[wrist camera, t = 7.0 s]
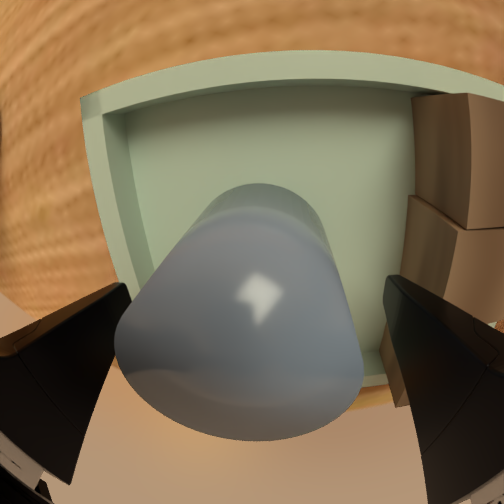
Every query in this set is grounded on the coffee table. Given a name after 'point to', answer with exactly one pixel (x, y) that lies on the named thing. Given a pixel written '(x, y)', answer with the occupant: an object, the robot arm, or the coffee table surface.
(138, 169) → the tray
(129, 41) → the coffee table surface
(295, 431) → the grey rounded tapered cylinder
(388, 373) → the block
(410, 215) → the block
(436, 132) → the block
